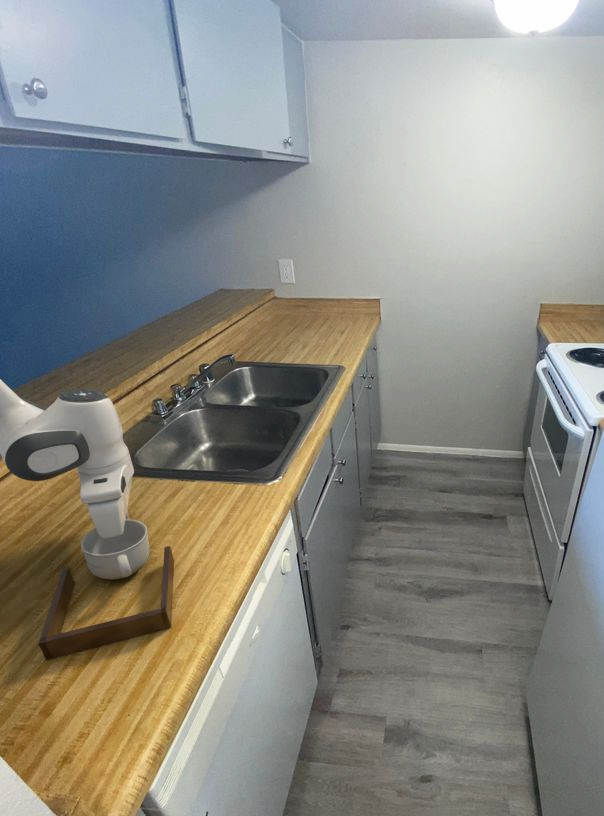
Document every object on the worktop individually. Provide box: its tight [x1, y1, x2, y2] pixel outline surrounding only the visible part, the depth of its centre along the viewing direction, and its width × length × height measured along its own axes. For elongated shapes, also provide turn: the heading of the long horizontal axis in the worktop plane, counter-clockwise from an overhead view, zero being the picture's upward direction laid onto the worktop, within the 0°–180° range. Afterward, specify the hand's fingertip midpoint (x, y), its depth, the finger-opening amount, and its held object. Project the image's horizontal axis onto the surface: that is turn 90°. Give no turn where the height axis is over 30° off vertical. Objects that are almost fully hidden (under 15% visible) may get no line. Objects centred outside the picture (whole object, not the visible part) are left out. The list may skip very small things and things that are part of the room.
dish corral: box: [37, 545, 175, 661], centre depth 84 cm, size 18×17×4 cm
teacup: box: [80, 519, 150, 580], centre depth 90 cm, size 14×11×8 cm
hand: (124, 525), depth 97 cm, fingers closed
